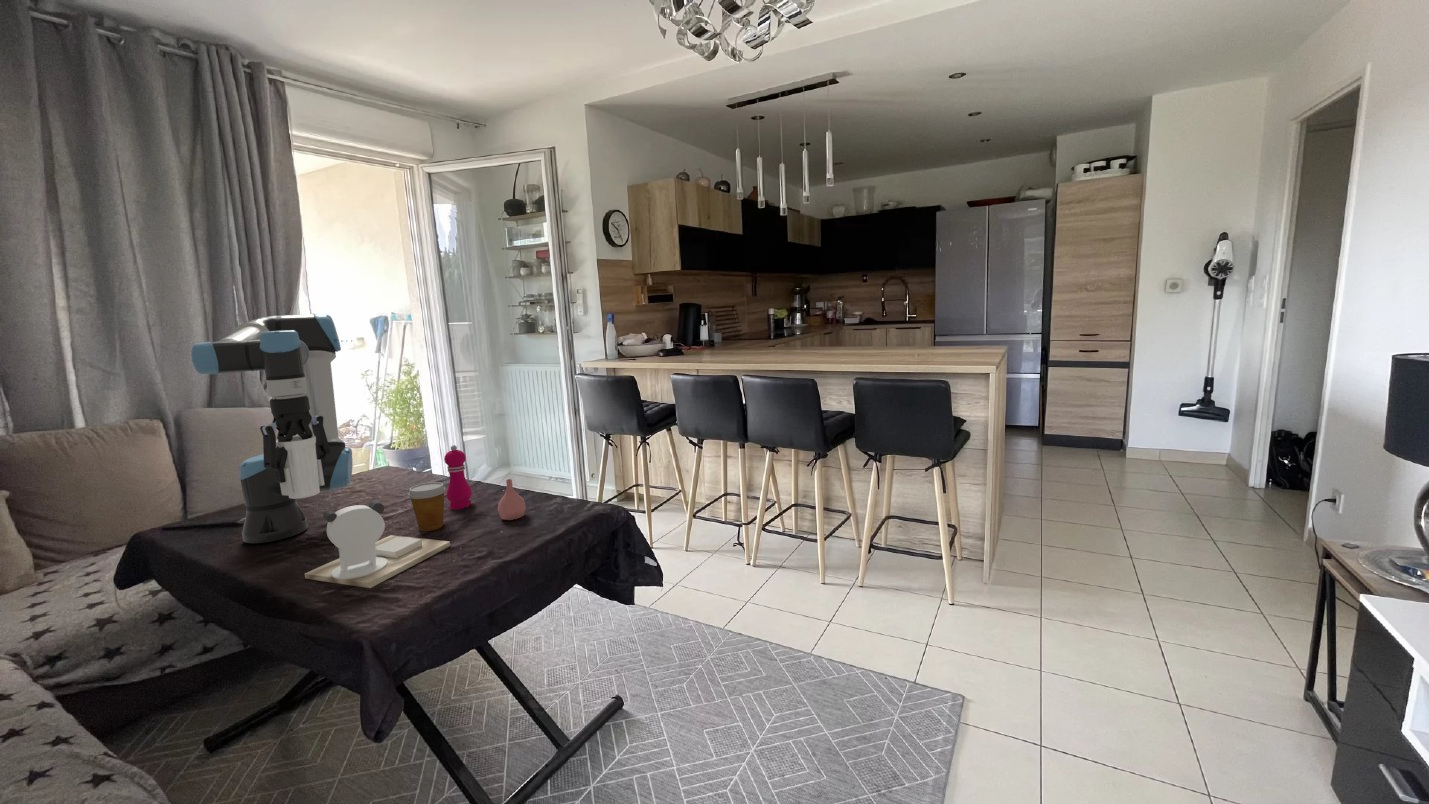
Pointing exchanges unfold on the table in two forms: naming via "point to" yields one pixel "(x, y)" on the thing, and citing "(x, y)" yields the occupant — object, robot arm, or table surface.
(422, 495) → the disposable coffee cup
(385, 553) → the tile
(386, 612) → the table surface
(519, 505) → the pink bulbous piece
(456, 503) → the pepper mill
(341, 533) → the panda figurine
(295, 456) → the cup
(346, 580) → the board
